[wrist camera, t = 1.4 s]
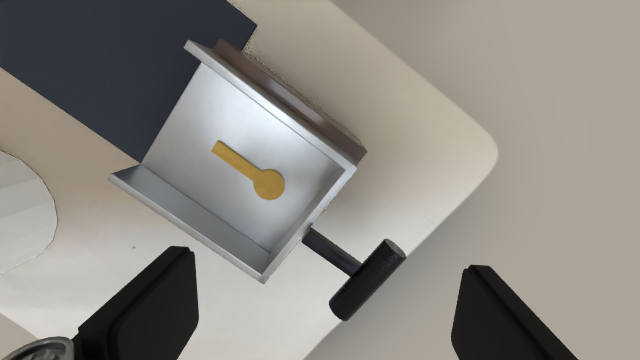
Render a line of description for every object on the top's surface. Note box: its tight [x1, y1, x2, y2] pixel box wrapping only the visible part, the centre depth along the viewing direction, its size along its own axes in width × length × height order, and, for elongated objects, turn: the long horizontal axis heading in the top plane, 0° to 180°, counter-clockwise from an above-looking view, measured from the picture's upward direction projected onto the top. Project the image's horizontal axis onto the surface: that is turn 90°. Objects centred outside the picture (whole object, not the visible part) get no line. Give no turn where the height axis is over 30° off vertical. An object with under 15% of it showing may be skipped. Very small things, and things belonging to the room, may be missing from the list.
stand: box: [213, 38, 367, 165], centre depth 27 cm, size 14×13×7 cm
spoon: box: [211, 140, 285, 200], centre depth 23 cm, size 6×2×1 cm, turn 53°
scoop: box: [108, 40, 406, 321], centre depth 21 cm, size 19×11×6 cm, turn 53°
